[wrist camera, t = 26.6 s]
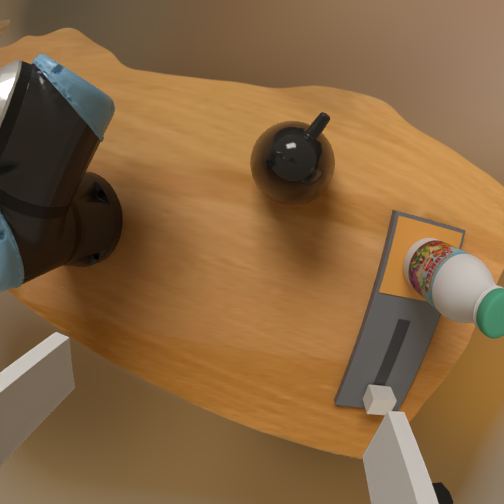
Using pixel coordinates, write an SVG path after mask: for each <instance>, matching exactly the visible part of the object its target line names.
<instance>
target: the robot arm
mask: <svg viewBox="0 0 504 504" xmlns="http://www.w3.org/2000/svg"><path fill="white" fill-rule="evenodd" d="M32 62H33V64H29V63H26V62H23V61H21V60H16V61H14V62H12V63H10V64H8V65H6V66H4V67H2V68H0V292H1V291H4V290H7V289H10V288H14V287H16V288H17V287H19V286H21V285H22V284H24V283H26V282H28V281H30V280H32V279H34V278H36V277H38V276H40V275H43V274H45V273H47V272H49V271H51V270H53V269H56V268H58V267H60V266H62V265H67V266H78V267H85V266H90V265H93V264H96V263H98V262H100V261H102V260H104V259H105V258H106V257H108V256H109V255H110V254H111V252H112V251H113V250H114V248H115V247H116V245H117V243H118V240H119V237H120V234H121V228H122V213H121V207H120V203H119V200H118V198H117V195H116V193H115V191H114V190H113V188H112V187H111V185H110V184H109V183H108V182H107V181H106V180H105V179H104V178H102V177H101V176H99V175H97V174H95V173H91V172H86V170H87V168H88V166H89V164H90V162H91V160H92V158H93V156H94V154H95V152H96V150H97V148H98V146H99V144H100V142H102V141H103V139H104V137H103V135H104V133H105V131H106V129H107V127H108V125H109V123H110V121H111V119H112V117H113V115H114V111H115V106H114V102H113V100H112V99H111V98H110V97H109V96H108V95H107V94H105V93H104V92H102V91H101V90H99V89H98V88H96V87H95V86H93V85H92V84H90V83H89V82H87V81H86V80H84V79H83V78H81V77H79V76H78V75H76V74H75V73H73V72H72V71H70V70H68V69H67V68H65V67H64V66H62V65H60V64H59V63H57V62H56V61H54V60H53V59H51V58H49V57H48V56H46V55H44V54H39V55H38V56H37V57H36V58H34V59H33V61H32ZM74 388H75V384H74V376H73V368H72V360H71V350H70V340H69V337H67V336H64V335H62V334H59V333H57V332H55V333H54V334H52V335H51V336H49V337H48V338H47V339H45V340H44V341H43V342H41V343H40V344H38V345H37V346H36V347H34V348H33V349H31V350H30V351H29V352H27V353H26V354H25V355H23V356H22V357H21V358H19V359H18V360H16V361H15V362H14V363H13V364H11V365H10V366H8V367H7V368H6V369H4V370H3V371H2V372H0V467H1V465H2V464H3V463H4V462H5V461H6V460H7V459H8V458H9V457H10V456H11V454H12V453H13V452H14V451H15V450H16V449H17V448H18V447H19V446H20V445H21V444H22V443H23V442H24V440H25V439H26V438H27V437H28V436H29V435H30V434H31V433H32V432H33V431H34V430H35V429H36V428H37V427H38V426H39V425H40V423H41V422H42V421H43V420H44V419H45V418H46V417H47V416H48V415H49V414H50V413H51V412H52V411H53V410H54V409H55V408H56V407H57V406H58V405H59V404H60V403H61V401H62V400H63V399H64V398H65V397H66V396H67V395H68V394H69V393H70V392H71V391H72V390H73V389H74ZM362 457H363V462H364V467H365V472H366V477H367V483H368V488H369V494H370V499H371V504H453V500H452V498H451V495H450V492H449V491H448V490H447V489H446V488H445V486H444V485H443V484H442V483H441V482H440V483H431V480H430V477H429V475H428V472H427V469H426V466H425V464H424V461H423V458H422V456H421V453H420V451H419V448H418V445H417V443H416V441H415V438H414V435H413V433H412V431H411V428H410V426H409V423H408V421H407V418H406V416H405V413H404V412H395V411H387V413H386V415H385V417H384V419H383V421H382V422H381V424H380V426H379V428H378V430H377V432H376V433H375V435H374V437H373V439H372V441H371V442H370V444H369V446H368V447H367V449H366V451H365V453H364V454H363V456H362Z"/></svg>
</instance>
